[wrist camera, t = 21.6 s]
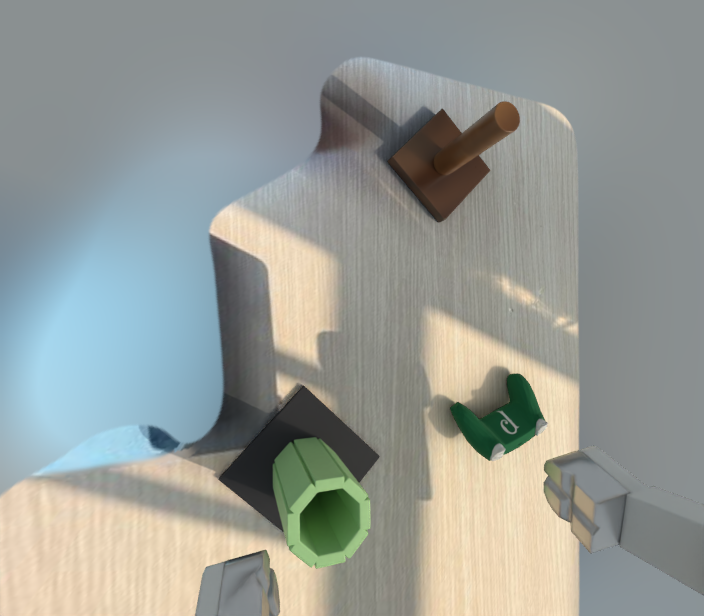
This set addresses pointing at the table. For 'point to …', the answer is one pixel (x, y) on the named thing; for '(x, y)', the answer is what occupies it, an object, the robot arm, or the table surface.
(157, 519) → the table surface
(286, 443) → the mat
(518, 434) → the gaming controller
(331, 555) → the green octagonal tube
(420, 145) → the stand
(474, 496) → the table surface
